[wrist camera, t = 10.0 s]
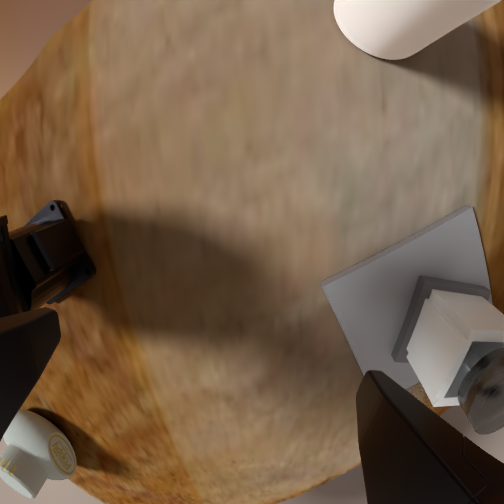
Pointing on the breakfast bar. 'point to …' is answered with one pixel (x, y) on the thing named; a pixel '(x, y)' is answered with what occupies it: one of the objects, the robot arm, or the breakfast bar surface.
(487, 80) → the breakfast bar surface
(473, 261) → the slate mat
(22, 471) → the air freshener
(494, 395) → the plunger
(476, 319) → the white square sleeve
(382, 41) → the can
